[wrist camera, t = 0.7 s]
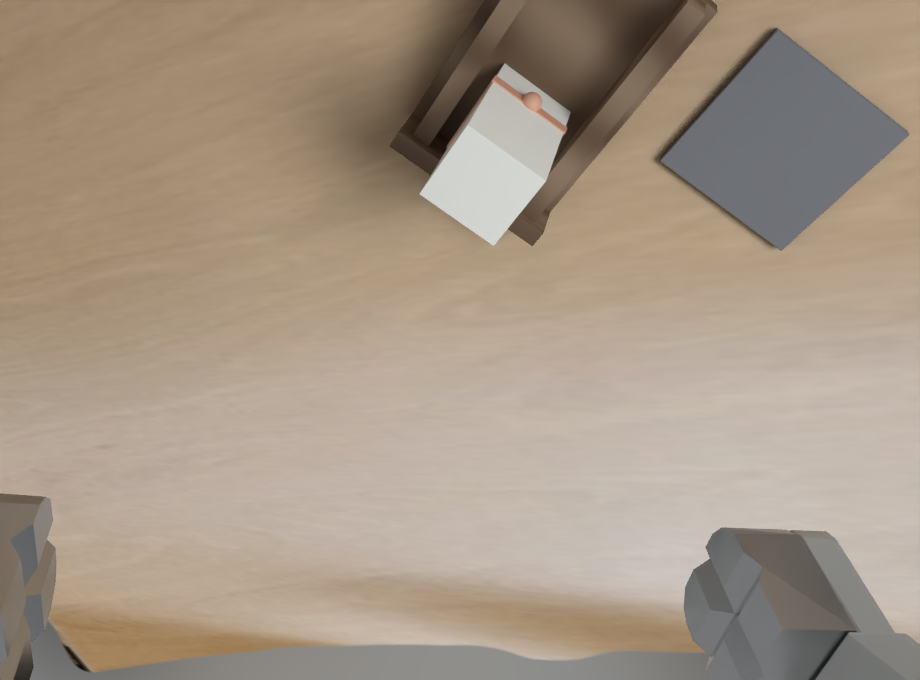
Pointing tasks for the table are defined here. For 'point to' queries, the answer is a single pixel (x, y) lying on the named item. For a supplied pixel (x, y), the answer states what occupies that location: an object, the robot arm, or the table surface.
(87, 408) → the table surface
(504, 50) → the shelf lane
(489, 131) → the block
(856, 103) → the mat
